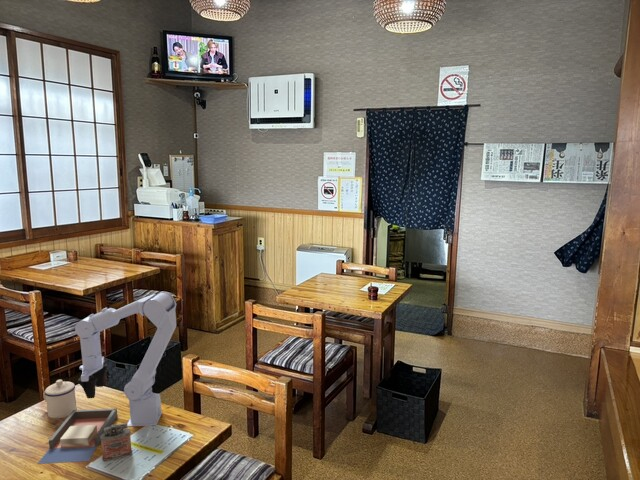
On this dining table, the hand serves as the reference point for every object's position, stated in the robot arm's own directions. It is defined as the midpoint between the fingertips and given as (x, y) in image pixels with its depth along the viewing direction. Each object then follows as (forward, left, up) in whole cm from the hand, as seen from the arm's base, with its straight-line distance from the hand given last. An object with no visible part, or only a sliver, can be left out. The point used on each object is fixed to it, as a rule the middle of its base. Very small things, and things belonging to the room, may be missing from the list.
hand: (95, 392), depth 157 cm
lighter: (-14, +22, -10) cm, 28 cm away
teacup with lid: (+15, -5, -10) cm, 18 cm away
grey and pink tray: (+1, +8, -9) cm, 12 cm away
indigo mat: (+1, +20, -9) cm, 22 cm away
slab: (+1, +13, -9) cm, 16 cm away
